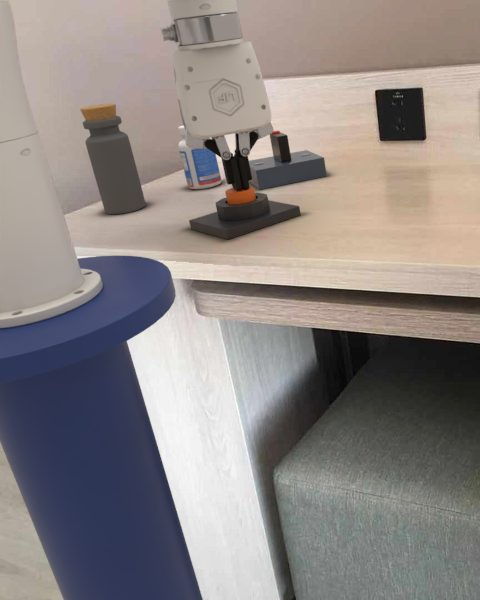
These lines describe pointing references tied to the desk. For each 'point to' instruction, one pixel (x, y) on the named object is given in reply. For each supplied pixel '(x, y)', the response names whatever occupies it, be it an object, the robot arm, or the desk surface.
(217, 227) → the switch base
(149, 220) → the desk surface
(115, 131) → the bottle
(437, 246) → the desk surface
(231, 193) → the switch
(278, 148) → the black toggle lever
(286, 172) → the panel
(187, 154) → the pill bottle
